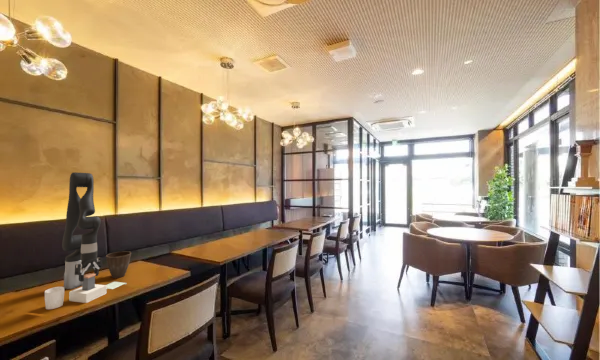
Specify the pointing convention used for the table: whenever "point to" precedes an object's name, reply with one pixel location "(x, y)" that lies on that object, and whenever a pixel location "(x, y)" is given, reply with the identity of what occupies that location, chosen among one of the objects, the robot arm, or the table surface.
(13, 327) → the table surface
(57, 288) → the white cup
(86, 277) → the plug
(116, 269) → the plant pot
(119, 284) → the mat
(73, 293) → the block
